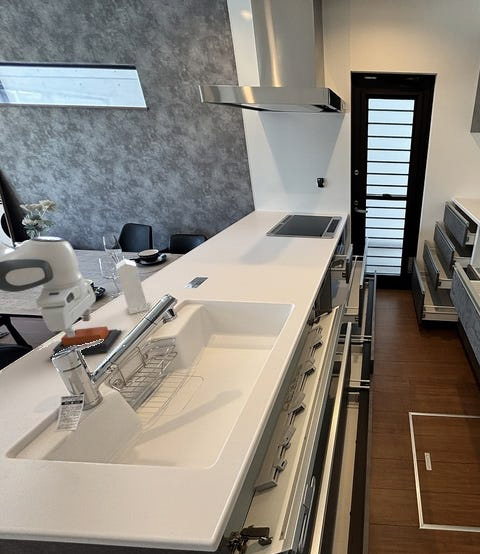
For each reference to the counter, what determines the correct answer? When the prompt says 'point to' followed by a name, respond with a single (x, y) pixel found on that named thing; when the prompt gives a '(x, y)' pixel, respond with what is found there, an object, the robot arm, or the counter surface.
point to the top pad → (86, 336)
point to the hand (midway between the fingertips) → (80, 327)
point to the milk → (131, 286)
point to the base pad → (97, 348)
